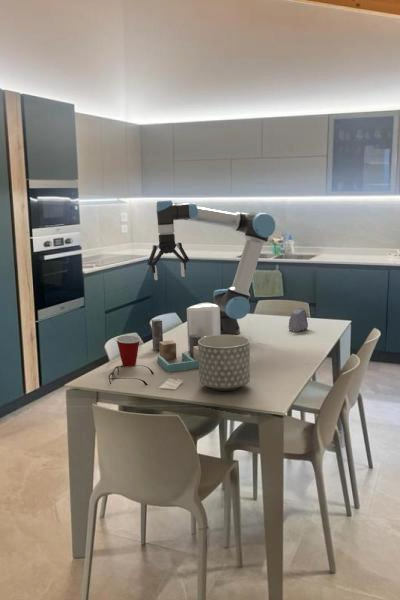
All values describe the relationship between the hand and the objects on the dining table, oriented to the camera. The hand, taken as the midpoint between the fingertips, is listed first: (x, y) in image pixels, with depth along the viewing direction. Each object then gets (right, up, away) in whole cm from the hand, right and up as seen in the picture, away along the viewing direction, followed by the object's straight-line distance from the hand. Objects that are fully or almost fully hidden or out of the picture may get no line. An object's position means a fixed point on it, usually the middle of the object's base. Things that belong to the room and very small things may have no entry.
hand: (169, 278), depth 272 cm
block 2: (+14, -37, -22) cm, 45 cm away
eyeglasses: (-13, -43, -45) cm, 63 cm away
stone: (+66, -26, +29) cm, 77 cm away
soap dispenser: (+18, -34, -3) cm, 39 cm away
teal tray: (+10, -38, -25) cm, 46 cm away
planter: (+24, -44, -58) cm, 76 cm away
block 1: (-2, -35, -9) cm, 36 cm away
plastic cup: (-16, -39, -25) cm, 49 cm away
